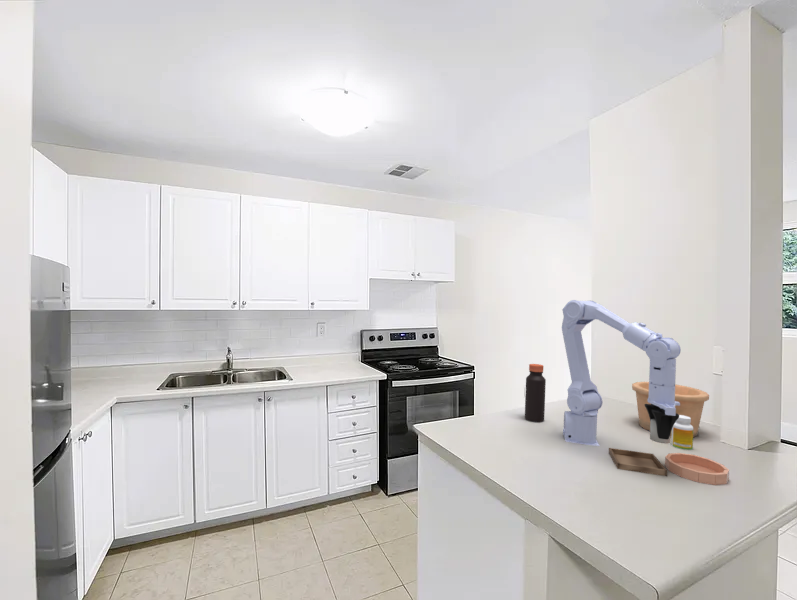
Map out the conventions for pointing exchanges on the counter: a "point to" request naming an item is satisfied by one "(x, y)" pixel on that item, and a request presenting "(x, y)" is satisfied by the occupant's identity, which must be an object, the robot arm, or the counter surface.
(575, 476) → the counter surface
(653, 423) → the stone
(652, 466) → the tray
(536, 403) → the vinegar
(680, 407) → the pottery
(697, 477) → the bowl
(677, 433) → the supplement bottle
